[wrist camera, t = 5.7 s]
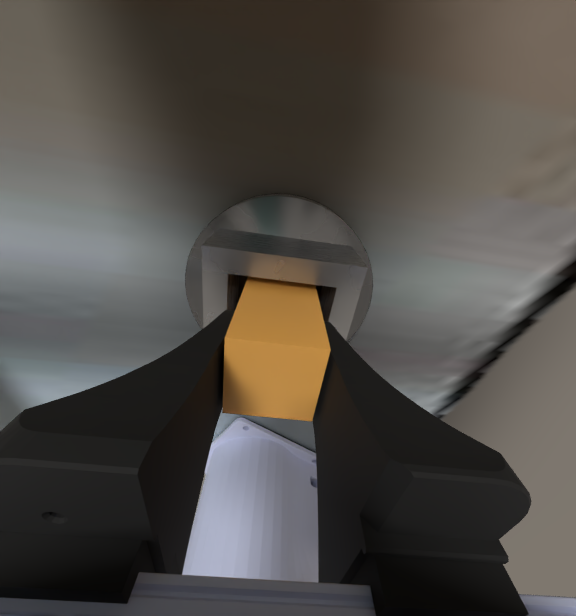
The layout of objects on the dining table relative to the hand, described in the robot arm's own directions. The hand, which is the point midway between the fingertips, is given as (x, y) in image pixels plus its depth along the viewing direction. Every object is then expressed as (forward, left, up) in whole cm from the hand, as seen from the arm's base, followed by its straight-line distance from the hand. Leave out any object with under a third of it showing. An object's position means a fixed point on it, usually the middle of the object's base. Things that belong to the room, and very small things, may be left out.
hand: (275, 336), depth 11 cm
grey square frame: (0, 0, -5) cm, 5 cm away
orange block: (0, 0, -3) cm, 3 cm away
